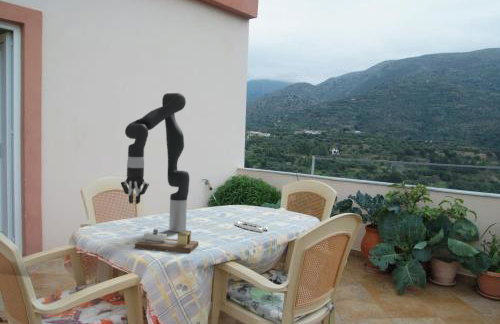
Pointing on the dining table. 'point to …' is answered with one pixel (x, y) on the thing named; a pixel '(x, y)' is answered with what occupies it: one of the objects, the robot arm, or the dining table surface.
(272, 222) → the dining table surface
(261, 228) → the door handle
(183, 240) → the keeper
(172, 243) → the door panel
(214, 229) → the dining table surface
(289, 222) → the dining table surface
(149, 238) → the bolt
